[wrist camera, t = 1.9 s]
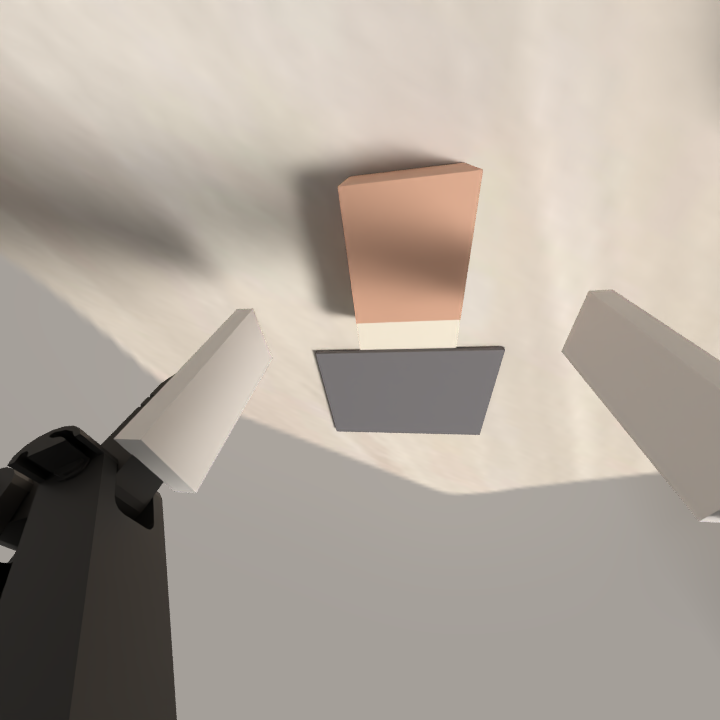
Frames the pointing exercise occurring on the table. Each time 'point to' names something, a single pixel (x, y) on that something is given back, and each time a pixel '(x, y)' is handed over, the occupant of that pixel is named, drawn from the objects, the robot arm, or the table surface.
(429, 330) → the flat block
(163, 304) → the table surface
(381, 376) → the mat
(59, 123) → the table surface
